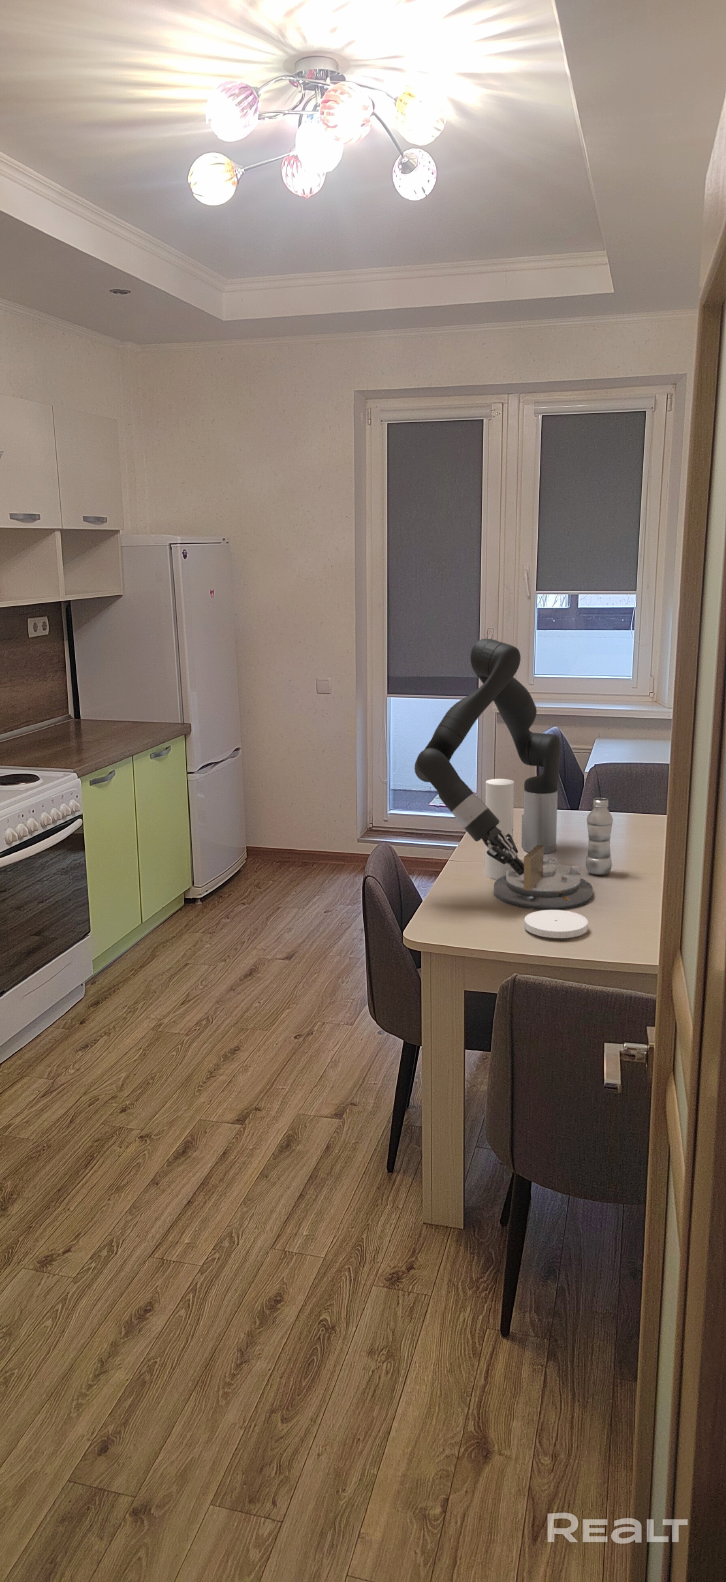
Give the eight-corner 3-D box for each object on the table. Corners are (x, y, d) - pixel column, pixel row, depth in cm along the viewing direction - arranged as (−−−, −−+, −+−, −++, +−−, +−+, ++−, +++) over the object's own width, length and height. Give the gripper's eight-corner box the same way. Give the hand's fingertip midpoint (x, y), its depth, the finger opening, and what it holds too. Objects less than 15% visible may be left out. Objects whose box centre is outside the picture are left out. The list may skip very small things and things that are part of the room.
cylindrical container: (514, 872, 274) (516, 779, 269) (509, 880, 268) (510, 785, 262) (488, 869, 277) (489, 778, 271) (482, 877, 270) (483, 784, 265)
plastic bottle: (612, 878, 268) (614, 802, 263) (585, 877, 269) (587, 802, 265) (611, 870, 274) (614, 796, 270) (585, 869, 275) (587, 796, 271)
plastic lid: (517, 921, 239) (517, 911, 239) (577, 918, 240) (577, 908, 240) (532, 944, 226) (532, 933, 225) (595, 940, 227) (596, 930, 226)
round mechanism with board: (518, 870, 268) (518, 829, 266) (587, 878, 261) (589, 836, 258) (490, 897, 248) (490, 853, 245) (564, 907, 240) (565, 861, 238)
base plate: (476, 886, 264) (476, 877, 263) (558, 874, 272) (559, 866, 272) (524, 915, 242) (524, 906, 241) (612, 901, 250) (612, 893, 250)
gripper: (477, 813, 240) (527, 871, 237) (494, 801, 251) (542, 855, 249) (455, 833, 243) (504, 890, 241) (473, 820, 255) (520, 874, 252)
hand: (523, 872), depth 245 cm, fingers closed
